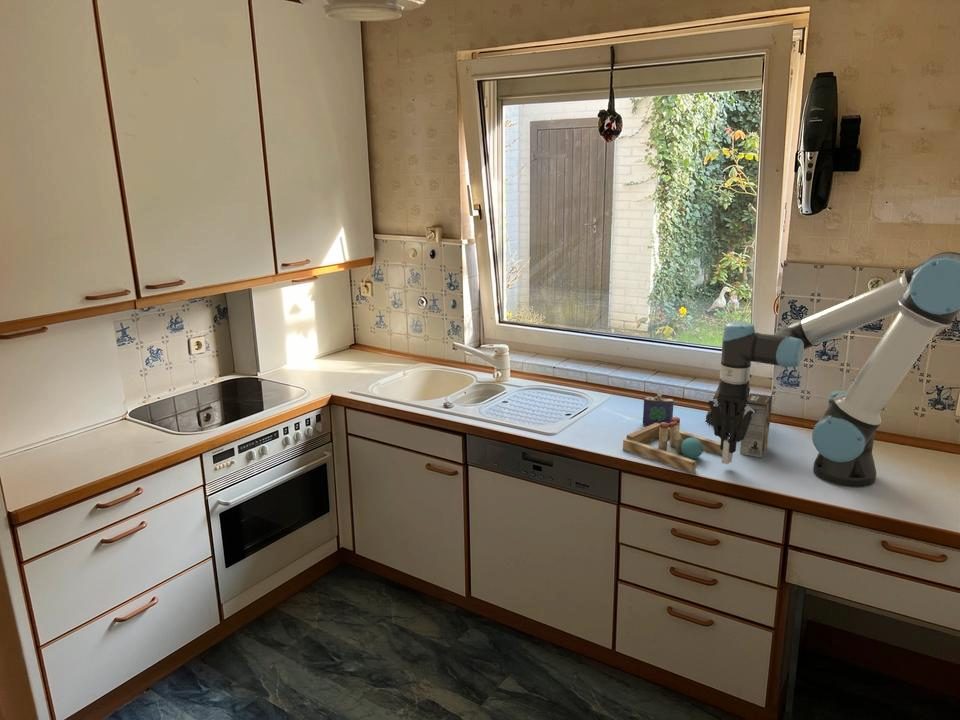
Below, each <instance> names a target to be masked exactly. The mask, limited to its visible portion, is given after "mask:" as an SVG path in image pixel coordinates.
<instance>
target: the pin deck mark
mask: <svg viewBox="0 0 960 720" xmlns="http://www.w3.org/2000/svg"><path fill="white" fill-rule="evenodd" d="M667 452H670V453H673V454H676V455H679V456H682V457H685V456H684V455H683V454H682V453H680V454H677V452H676V448H671V447H670V442H667ZM685 458H686V457H685Z"/></svg>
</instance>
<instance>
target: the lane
mask: <svg viewBox="0 0 960 720" xmlns="http://www.w3.org/2000/svg"><path fill="white" fill-rule="evenodd" d="M659 431H660V424H659V423H654V424H651V425H649V426H644V427H643V428H640V429H637V430H635V431H633V432H630V433H628V434H627V435H626V438H624V439H623V440H622V441H623V442H622V450H624V451H626V450H627V451H626V452H629V451H630V453H632V454H635V453H636V455H638V456H642V457H644V458H647V459H651V460H654V461H657V462H659V463H662V464H665V465H667V464H668V466H670V465H671V466H670V467H673V466H674V468H677V469H679V468H680V469H681V470H682V471H685V472H689V473H691V474H692V473H695V472H696V468H697V460H695V459H689V458H687V457H682V456H679V455H676V454H673V453H670V452H667V451H664V450H661V449H658V447H654V446H651V445H648V444H647V443H650V442H652V441H654V440H656V439H659ZM679 432H680V435H681V439H682V442H683V441H684V440H685V439H687V438H696V439H698V440H699V441H700V442H701V444H702V446H703V451H706V452H710V453H713V454H716V455H719V456H722V455H723V450H721V449H720V445H721V441H720V442H719V441H715V440H712V439H710V438H706V437H703V436H699V435H695V434H693V433H689V432H686V431H683V430H680V429H679ZM670 435H671V432H670V428H669V427H668V440H670ZM680 469H679V470H680Z"/></svg>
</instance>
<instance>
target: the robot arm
mask: <svg viewBox="0 0 960 720" xmlns="http://www.w3.org/2000/svg"><path fill="white" fill-rule="evenodd" d="M959 313H960V252H955V251H944V252H939V253H936V254H934V255H932V256H931V257H929V258H927V259H925V260H924V261H923V262H921V263H919V264H917V265H915V266H912V267H911V268H909V269H907V270H905V271H903V272H902V274H901V276H900V277H898V278H896V279H894V280H892V281H891V280H890V281H889V282H887V283H884V284H882V285H879V286H877V287H875V288H872V289H871V290H868V291H865V292H864V293H861V294H859V295H857V296H854V297H851V298H850V299H847V300H845V301H842V302H840V303H838V304H835V305H832V306H830V307H828V308H826V309H824V310H821V311H818V312H817V313H814V314H811V315H809V316H807V317H805V318H802V319H800V320H798V321H795V322H794V323H788V324H785V325H784V326H781V328H779V330H778V331H776V332H775V333H773V334H769V333H767V334H766V333H760V332H756V330H755V325H754V324H753V323H750V322H747V321H731V322H728V323H726V324H725V325H724V328H723V329H724V330H723V336H722V344H721V346H722V347H721V358H720V359H721V360H720V371H719V378H720V379H719V381H718V386H719V390H718V391H719V394H718V396H717V399H713V398H712V399H713V400H712V399H711V400H708V402H707V404H708V406H709V407H710V408H711V412H712V419H713V426H712V427H713V431H714V432H713V433H714V435H715V436H716V437H718V438H720V443H721V445H720V449H721V450H723V455H721V457H722V458H721V464H724V465H728V464H730V463H731V462H733V453H735V452H736V451H737V444H738V443H740V442H741V440H743V439H744V437H745V435H746V432H747V429H748V426H749V424H750V421H751V418H752V416H753V415H754V414H755V413H756V410H755V409H752V408H751V407H750V406H749V405H748V400H747V396H748V390H749V387H750V379H751V378H750V374H751V366H752V362H754V363H761V364H765V365H772V366H777V367H778V366H779V367H782V368H798V367H799V366H800V364H801V362H802V360H803V356H804V350H807V349H809V348H812V347H814V346H816V345H819V344H822V343H823V342H826V341H829V340H831V339H834V338H837V337H839V336H841V335H844V334H847V333H849V332H851V331H855V330H857V329H859V328H862V327H865V326H867V325H870V324H872V323H874V322H877V321H879V320H882V319H885V318H886V317H890V316H893V315H895V314H897V315H896V316H895V318H894V319H893V321H892V322H891V323H890V325H889V327H888V328H887V329H886V331H885V333H884V334H883V336H882V338H881V339H880V340H879V342H878V343H877V345H876V347H875V348H874V349H873V351H872V353H871V354H870V355H869V357H868V359H867V360H866V362H865V363H864V365H863V366H862V367H861V370H860V371H859V372H858V373H857V375H856V377H855V378H854V380H853V382H852V383H851V385H850V386H849V388H848V389H847V390H835V391H832V392H830V395H829V398H827V399H828V407H827V409H826V410H825V412H824V413H823V415H822V416H821V418H820V419H819V421H818V422H817V423H815V425H814V426H813V429H812V433H811V434H812V435H811V438H812V443H813V446H814V447H815V449H816V451H817V452H818V454H817V456H816V458H815V460H814V462H813V465H812V466H813V468H812V472H813V474H814V475H815V476H816V477H817V478H819V479H821V480H823V481H824V482H827V483H829V484H832V485H833V484H834V485H837V486H842V487H848V488H865V487H869V486H872V485H874V484H875V483H876V480H877V469H876V464H875V460H874V456H873V455H874V454H873V449H874V442H875V435H876V431H877V429H879V426H881V424H882V417H881V411H883V409H884V408H885V406H886V404H887V403H888V401H889V400H890V399H891V397H892V395H893V394H894V393H895V392H896V390H897V389H898V387H899V385H900V384H901V383H902V381H903V380H904V379H905V377H906V376H907V374H908V373H909V371H910V369H912V367H913V366H914V365H915V363H916V361H917V360H918V358H919V357H920V355H921V354H922V353H923V351H924V350H925V348H926V347H927V346H928V344H929V342H931V339H932V338H933V337H934V335H935V334H936V333H937V331H938V329H941V328H946V327H950V325H951V324H952V323H953V322H954V321H955V319H956V318H957V316H958V314H959ZM748 381H749V383H748ZM719 405H720V407H721V409H722V414H721V413H720V407H719ZM744 409H745V412H744V414H745V416H744V417H743V420H742V423H741V425H740V428H739V419H740V416H741V412H742V411H743V410H744ZM721 415H722V421H721ZM730 419H731V424H730ZM729 429H730V434H729ZM738 430H739V431H738Z"/></svg>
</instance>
